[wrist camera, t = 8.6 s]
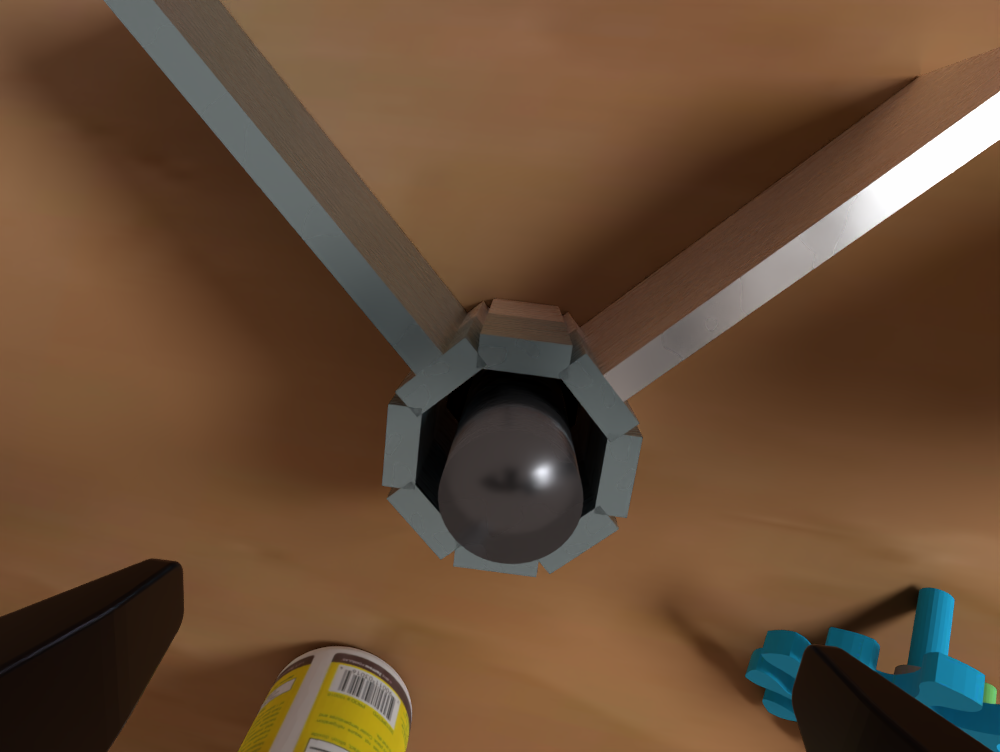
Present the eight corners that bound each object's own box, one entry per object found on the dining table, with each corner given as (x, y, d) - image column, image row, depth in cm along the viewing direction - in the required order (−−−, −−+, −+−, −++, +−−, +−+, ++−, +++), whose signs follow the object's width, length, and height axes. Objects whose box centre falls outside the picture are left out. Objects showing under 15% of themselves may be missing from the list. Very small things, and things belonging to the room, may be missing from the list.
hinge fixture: (625, -443, 14) (693, -879, 9) (977, 173, 18) (1195, 153, 12) (129, 67, 18) (-60, -4, 12) (498, 504, 21) (488, 613, 15)
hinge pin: (524, 328, 20) (523, 402, 12) (578, 398, 20) (612, 512, 12) (453, 382, 20) (408, 486, 12) (508, 448, 21) (498, 588, 13)
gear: (685, 643, 20) (1081, 730, 12) (738, 505, 24) (1081, 504, 16) (834, 802, 24) (1220, 950, 16) (863, 663, 27) (1198, 729, 19)
